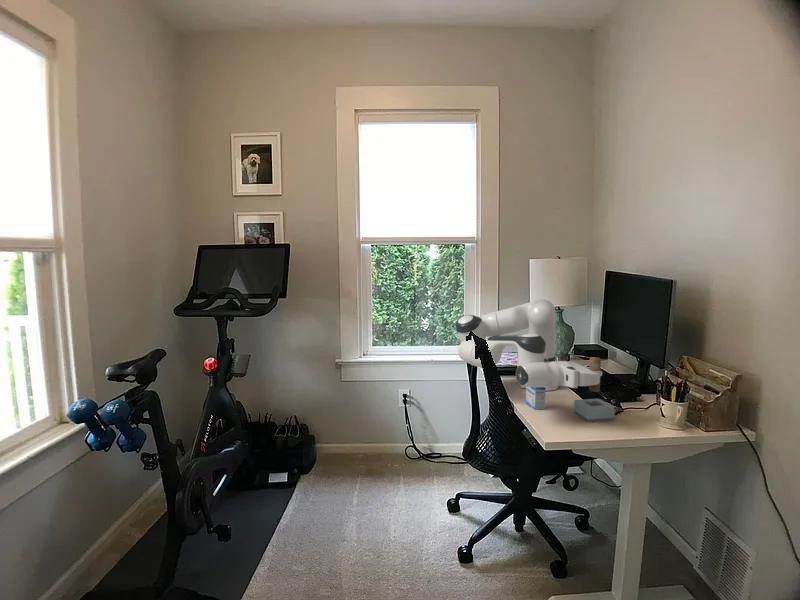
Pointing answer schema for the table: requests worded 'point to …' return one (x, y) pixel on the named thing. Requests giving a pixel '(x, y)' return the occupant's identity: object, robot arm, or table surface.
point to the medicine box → (535, 397)
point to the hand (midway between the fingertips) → (597, 371)
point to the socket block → (594, 410)
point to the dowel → (595, 365)
